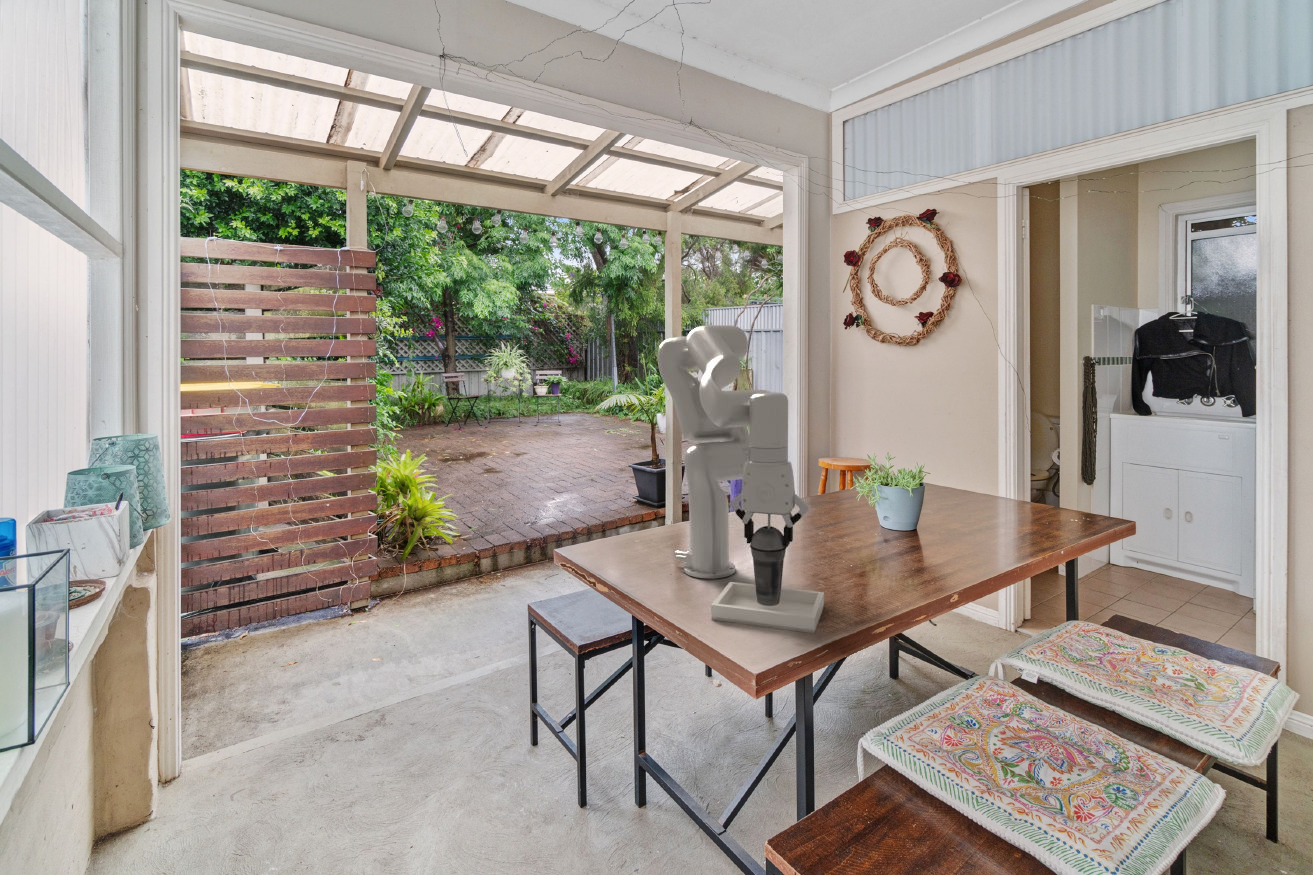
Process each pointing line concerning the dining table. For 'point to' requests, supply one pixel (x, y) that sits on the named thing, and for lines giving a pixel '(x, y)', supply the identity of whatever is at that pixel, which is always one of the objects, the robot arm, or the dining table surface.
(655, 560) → the dining table surface
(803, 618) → the tray
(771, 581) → the beverage cup
